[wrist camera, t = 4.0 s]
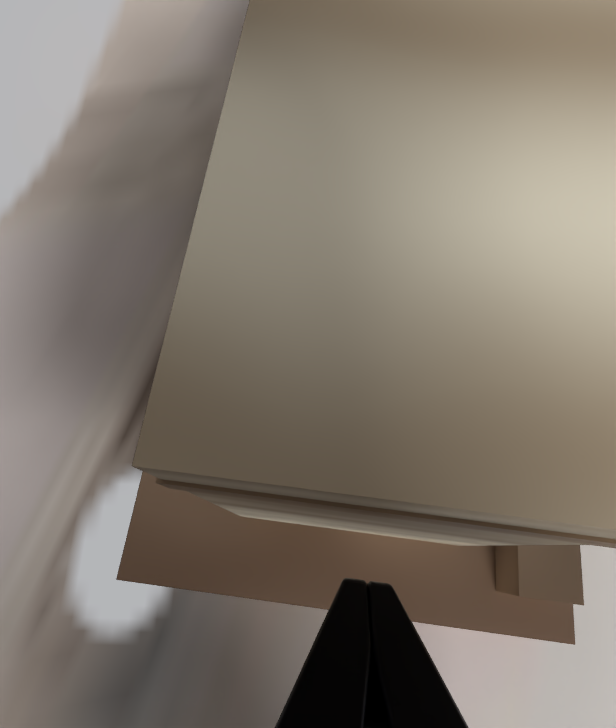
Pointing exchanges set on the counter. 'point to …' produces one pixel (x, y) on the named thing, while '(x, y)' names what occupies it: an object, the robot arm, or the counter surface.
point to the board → (350, 567)
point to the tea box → (404, 277)
